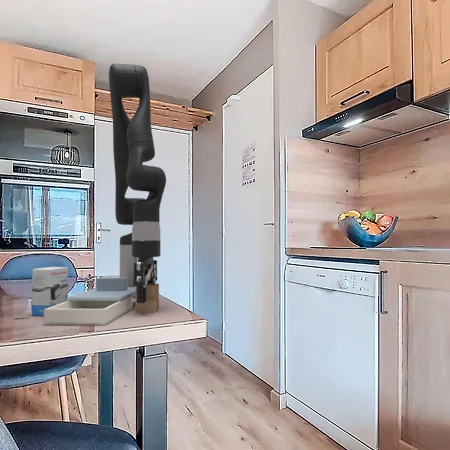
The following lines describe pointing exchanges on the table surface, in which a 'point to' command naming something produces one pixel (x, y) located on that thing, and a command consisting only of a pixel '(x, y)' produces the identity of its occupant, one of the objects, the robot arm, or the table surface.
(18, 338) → the table surface
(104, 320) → the beige shallow tray
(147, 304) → the parcel
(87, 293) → the lid
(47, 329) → the table surface
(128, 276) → the robot arm
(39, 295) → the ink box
